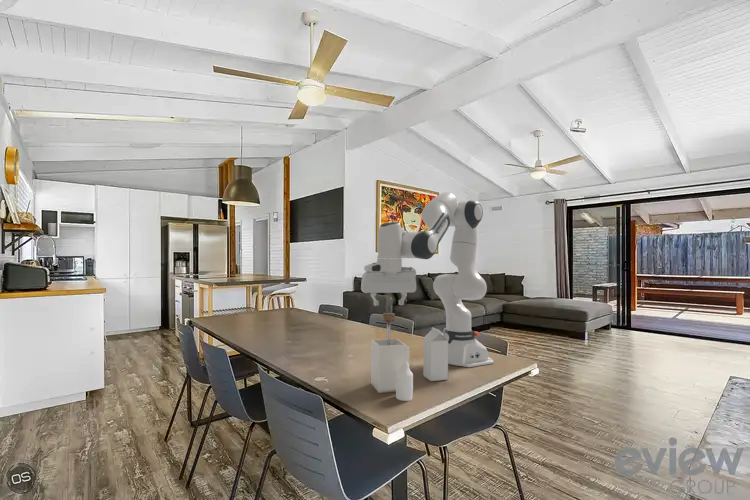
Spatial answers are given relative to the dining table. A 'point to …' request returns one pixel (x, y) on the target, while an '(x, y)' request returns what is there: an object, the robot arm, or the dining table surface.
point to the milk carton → (435, 356)
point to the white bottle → (404, 383)
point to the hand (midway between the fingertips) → (388, 305)
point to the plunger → (388, 323)
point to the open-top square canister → (387, 363)
